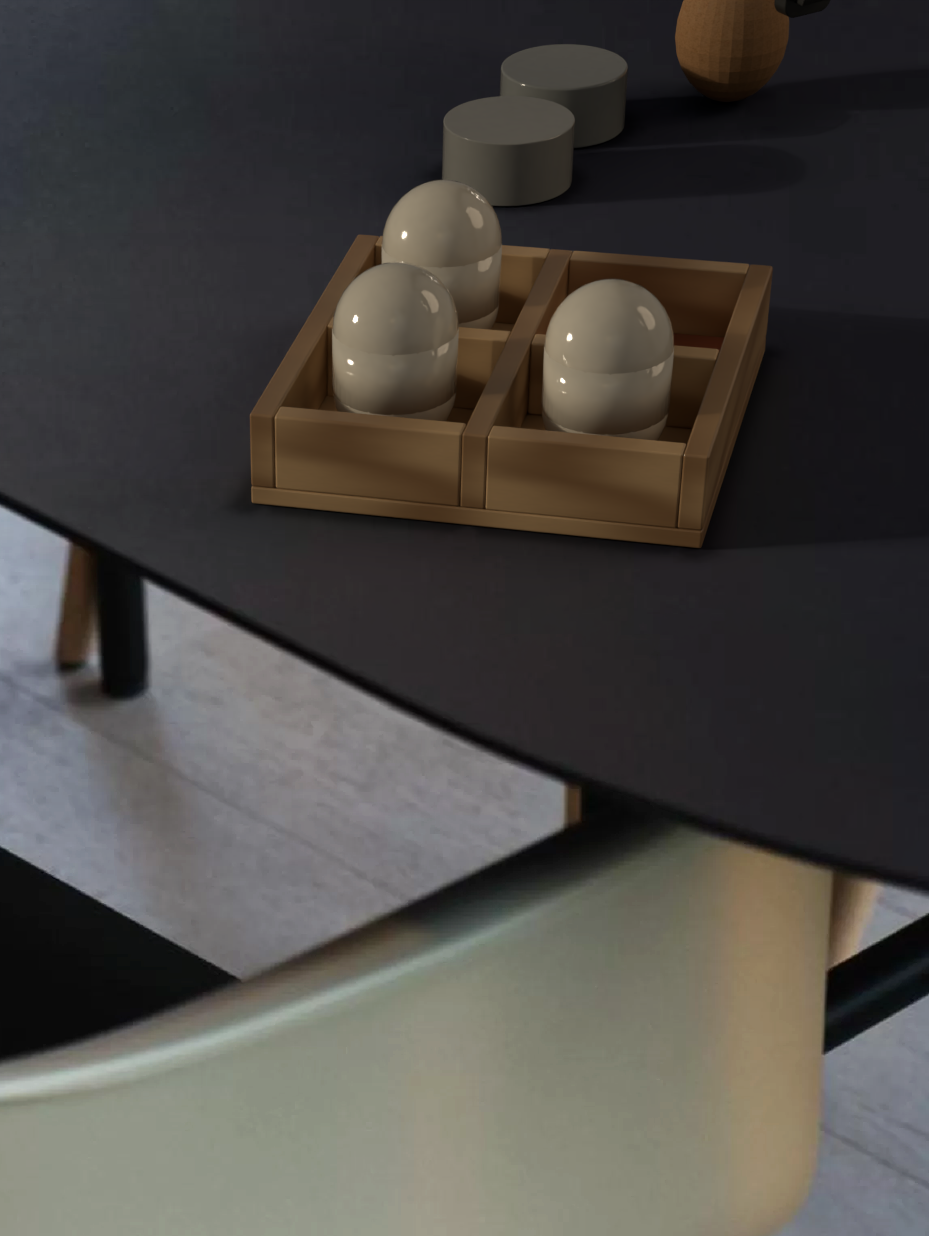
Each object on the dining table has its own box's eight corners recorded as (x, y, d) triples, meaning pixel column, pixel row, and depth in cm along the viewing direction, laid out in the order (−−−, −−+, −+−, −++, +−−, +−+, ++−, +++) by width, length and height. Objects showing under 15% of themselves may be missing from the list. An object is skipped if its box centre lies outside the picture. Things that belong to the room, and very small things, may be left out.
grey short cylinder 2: (650, 123, 117) (654, 62, 115) (568, 159, 114) (571, 98, 112) (554, 94, 119) (557, 34, 118) (472, 128, 117) (474, 68, 115)
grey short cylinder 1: (560, 153, 115) (563, 91, 113) (581, 202, 111) (585, 139, 109) (433, 161, 115) (435, 100, 113) (451, 210, 111) (452, 148, 109)
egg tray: (764, 351, 100) (773, 265, 98) (701, 549, 90) (709, 456, 88) (357, 318, 104) (357, 233, 102) (251, 504, 93) (249, 413, 91)
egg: (712, 71, 121) (725, -80, 117) (804, 95, 118) (820, -59, 114) (648, 103, 118) (658, -50, 114) (740, 128, 116) (754, -28, 112)
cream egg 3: (673, 442, 94) (688, 262, 90) (653, 499, 91) (667, 316, 87) (551, 430, 95) (560, 253, 91) (527, 486, 92) (535, 305, 88)
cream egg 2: (467, 423, 96) (472, 246, 92) (440, 478, 93) (445, 298, 89) (348, 412, 97) (349, 237, 93) (319, 466, 94) (318, 288, 90)
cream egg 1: (508, 336, 101) (515, 165, 97) (484, 386, 98) (490, 212, 94) (395, 327, 102) (397, 157, 98) (368, 376, 99) (369, 203, 95)
